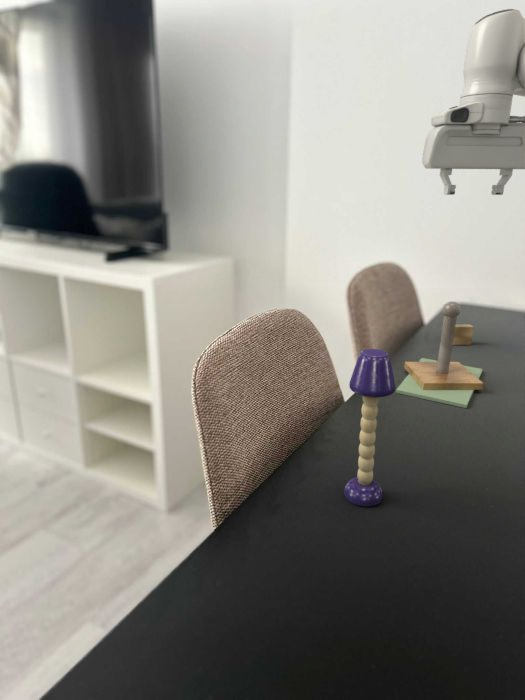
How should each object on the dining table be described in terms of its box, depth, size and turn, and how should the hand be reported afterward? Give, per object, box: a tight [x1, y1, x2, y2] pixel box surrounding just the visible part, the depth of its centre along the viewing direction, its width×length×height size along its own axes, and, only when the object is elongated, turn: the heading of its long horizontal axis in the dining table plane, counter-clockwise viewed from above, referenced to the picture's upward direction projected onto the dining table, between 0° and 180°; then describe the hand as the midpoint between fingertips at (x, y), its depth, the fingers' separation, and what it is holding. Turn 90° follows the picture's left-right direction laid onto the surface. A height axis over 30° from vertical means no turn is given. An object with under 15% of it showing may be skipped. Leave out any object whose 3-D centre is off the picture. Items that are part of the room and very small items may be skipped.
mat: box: [395, 357, 484, 409], centre depth 89 cm, size 18×11×1 cm, turn 151°
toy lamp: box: [343, 348, 396, 508], centre depth 54 cm, size 5×5×17 cm
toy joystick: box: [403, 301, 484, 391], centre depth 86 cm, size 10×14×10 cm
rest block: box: [453, 323, 475, 346], centre depth 109 cm, size 5×2×4 cm, turn 94°
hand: (473, 194), depth 98 cm, fingers open, 8 cm apart
